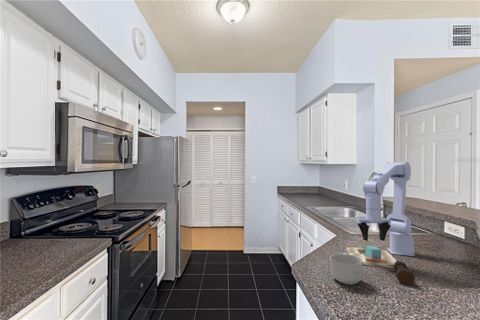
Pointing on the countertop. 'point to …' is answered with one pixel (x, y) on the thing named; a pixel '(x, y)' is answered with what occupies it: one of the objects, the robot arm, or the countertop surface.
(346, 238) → the countertop surface
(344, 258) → the teacup
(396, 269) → the bolt
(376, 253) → the slider block
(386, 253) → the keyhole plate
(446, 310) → the countertop surface
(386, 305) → the countertop surface
